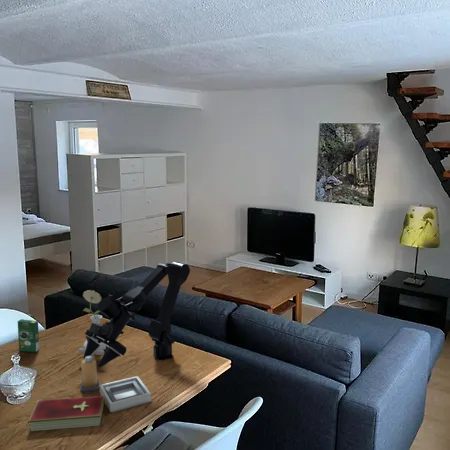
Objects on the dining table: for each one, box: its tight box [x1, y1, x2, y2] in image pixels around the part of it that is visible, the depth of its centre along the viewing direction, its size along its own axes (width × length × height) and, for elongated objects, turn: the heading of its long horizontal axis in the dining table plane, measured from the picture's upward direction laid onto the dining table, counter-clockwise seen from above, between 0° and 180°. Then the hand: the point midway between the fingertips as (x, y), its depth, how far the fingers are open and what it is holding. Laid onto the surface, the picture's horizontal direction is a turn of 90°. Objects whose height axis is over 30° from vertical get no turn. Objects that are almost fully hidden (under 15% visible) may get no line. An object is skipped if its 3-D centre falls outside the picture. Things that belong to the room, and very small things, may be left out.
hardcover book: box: [27, 395, 106, 432], centre depth 148 cm, size 12×21×4 cm, turn 99°
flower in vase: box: [82, 289, 110, 351], centre depth 196 cm, size 13×11×25 cm
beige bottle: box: [79, 356, 100, 394], centre depth 165 cm, size 6×6×12 cm
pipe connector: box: [78, 346, 105, 360], centre depth 183 cm, size 10×10×10 cm
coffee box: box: [17, 319, 40, 353], centre depth 194 cm, size 8×3×13 cm, turn 79°
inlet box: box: [99, 375, 152, 413], centre depth 160 cm, size 14×14×3 cm
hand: (91, 362), depth 165 cm, fingers open, 9 cm apart
